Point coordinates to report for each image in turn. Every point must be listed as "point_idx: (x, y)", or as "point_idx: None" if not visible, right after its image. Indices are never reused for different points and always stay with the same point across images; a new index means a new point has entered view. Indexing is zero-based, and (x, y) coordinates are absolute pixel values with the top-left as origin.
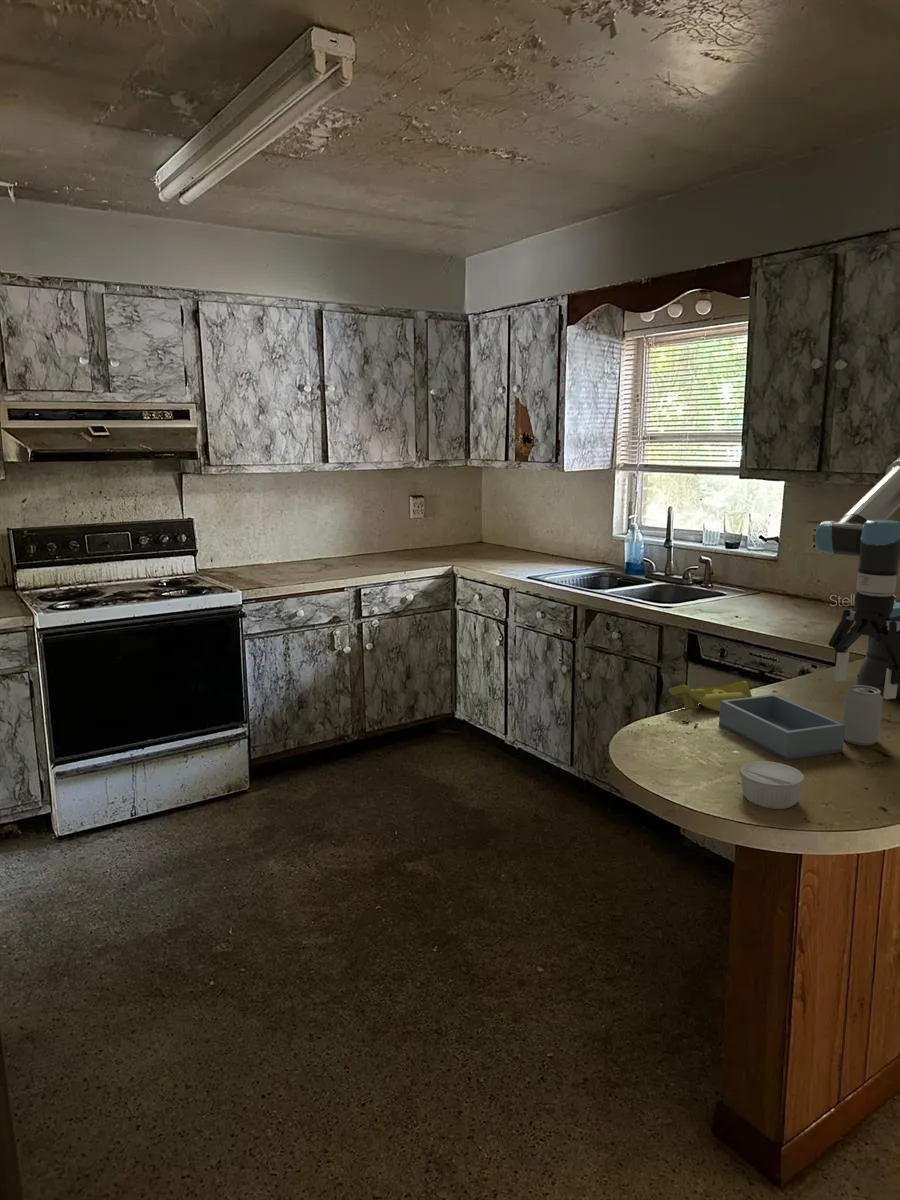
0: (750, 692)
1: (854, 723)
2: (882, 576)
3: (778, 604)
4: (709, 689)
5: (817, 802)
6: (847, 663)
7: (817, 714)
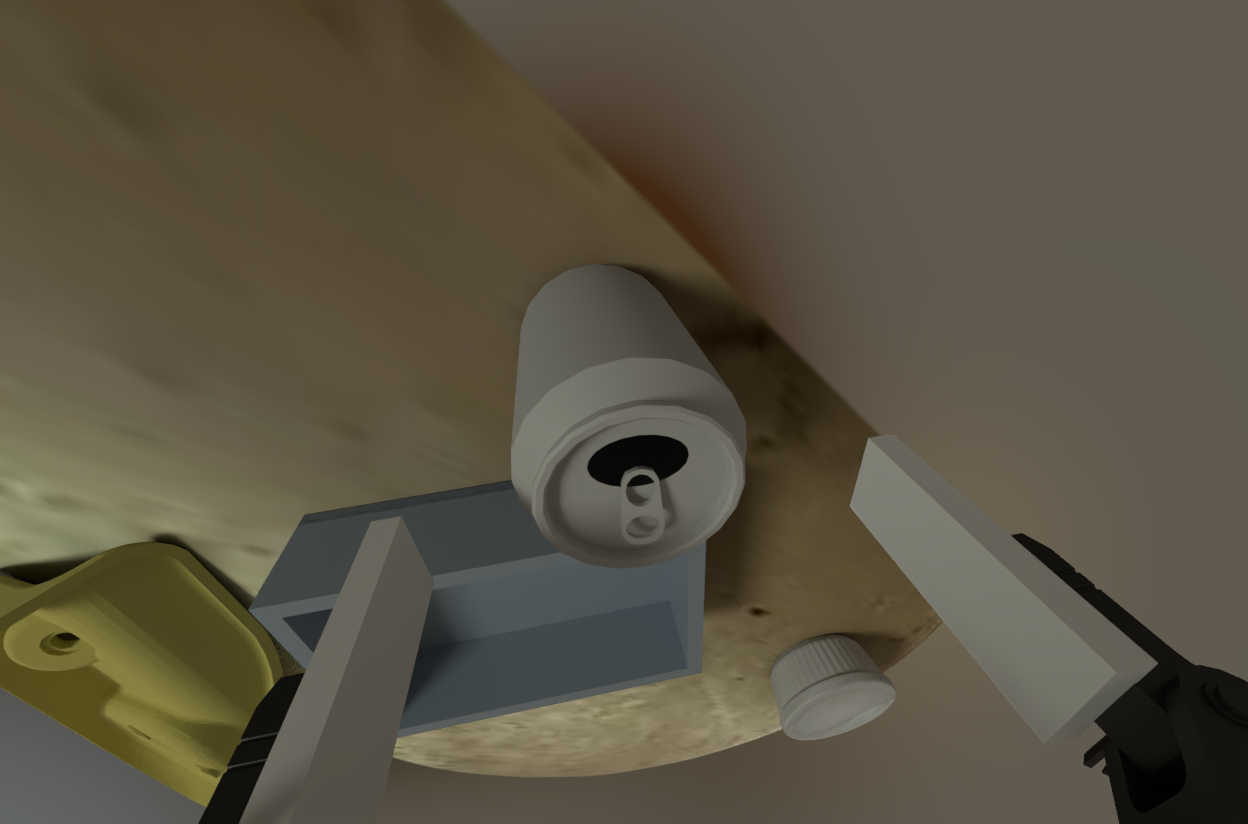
0: (55, 587)
1: (647, 440)
2: None
3: None
4: None
5: (866, 610)
6: (350, 679)
7: (568, 561)
